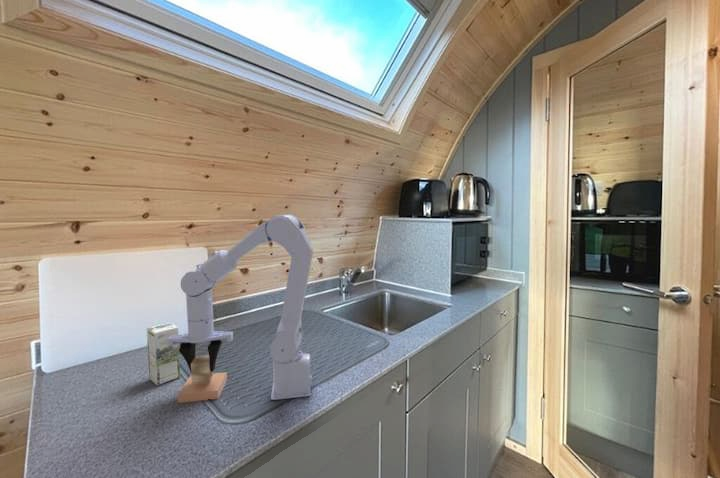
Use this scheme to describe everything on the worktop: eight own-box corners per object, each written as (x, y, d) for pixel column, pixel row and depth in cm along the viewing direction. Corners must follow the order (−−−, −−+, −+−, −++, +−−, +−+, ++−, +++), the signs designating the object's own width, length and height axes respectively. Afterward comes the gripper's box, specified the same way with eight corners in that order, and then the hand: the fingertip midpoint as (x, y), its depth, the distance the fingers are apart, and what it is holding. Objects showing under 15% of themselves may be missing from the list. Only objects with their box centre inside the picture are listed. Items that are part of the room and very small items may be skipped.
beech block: (213, 373, 83) (212, 355, 83) (209, 381, 80) (208, 362, 79) (196, 375, 83) (195, 356, 82) (191, 383, 79) (190, 363, 78)
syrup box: (172, 371, 92) (169, 321, 90) (181, 378, 88) (178, 326, 86) (149, 379, 87) (145, 327, 86) (157, 387, 83) (154, 332, 82)
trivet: (227, 381, 87) (226, 372, 87) (218, 400, 78) (218, 390, 78) (191, 384, 85) (190, 375, 85) (178, 404, 77) (177, 394, 76)
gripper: (234, 311, 85) (236, 360, 87) (174, 314, 83) (177, 365, 84) (228, 319, 78) (231, 373, 80) (163, 324, 76) (166, 379, 77)
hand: (203, 370), depth 81 cm, fingers closed on beech block, 4 cm apart
